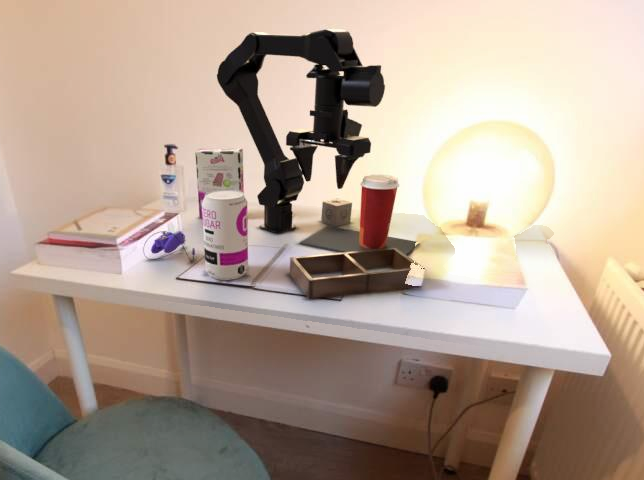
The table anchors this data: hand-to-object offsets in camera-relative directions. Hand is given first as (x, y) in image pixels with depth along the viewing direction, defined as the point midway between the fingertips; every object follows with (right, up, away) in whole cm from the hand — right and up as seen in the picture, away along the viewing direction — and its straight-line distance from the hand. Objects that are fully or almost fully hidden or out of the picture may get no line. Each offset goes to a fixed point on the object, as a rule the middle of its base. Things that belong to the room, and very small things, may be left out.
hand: (323, 184), depth 106 cm
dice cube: (+6, -4, +17) cm, 18 cm away
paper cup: (+11, -13, +1) cm, 17 cm away
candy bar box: (-23, -1, +23) cm, 32 cm away
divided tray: (+3, -22, -14) cm, 27 cm away
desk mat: (+8, -12, +3) cm, 15 cm away
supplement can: (-20, -20, -10) cm, 31 cm away
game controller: (-32, -16, -2) cm, 35 cm away
